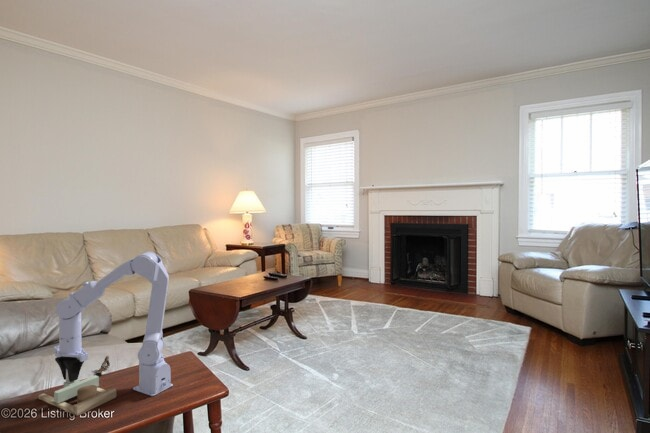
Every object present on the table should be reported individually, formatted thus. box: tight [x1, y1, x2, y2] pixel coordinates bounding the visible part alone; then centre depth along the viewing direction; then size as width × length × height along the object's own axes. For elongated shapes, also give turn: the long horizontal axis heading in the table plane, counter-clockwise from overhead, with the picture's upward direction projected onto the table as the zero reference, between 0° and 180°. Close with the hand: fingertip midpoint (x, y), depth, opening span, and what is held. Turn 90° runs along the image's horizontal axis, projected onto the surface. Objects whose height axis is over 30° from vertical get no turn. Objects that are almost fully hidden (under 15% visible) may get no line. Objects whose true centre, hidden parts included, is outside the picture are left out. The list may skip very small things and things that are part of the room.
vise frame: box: [38, 386, 117, 417], centre depth 113 cm, size 20×12×2 cm, turn 64°
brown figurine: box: [95, 355, 111, 377], centre depth 132 cm, size 2×8×4 cm, turn 7°
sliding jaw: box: [53, 369, 100, 403], centre depth 114 cm, size 6×12×7 cm, turn 154°
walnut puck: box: [76, 385, 98, 404], centre depth 111 cm, size 5×5×4 cm
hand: (70, 379), depth 115 cm, fingers closed on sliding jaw, 2 cm apart
